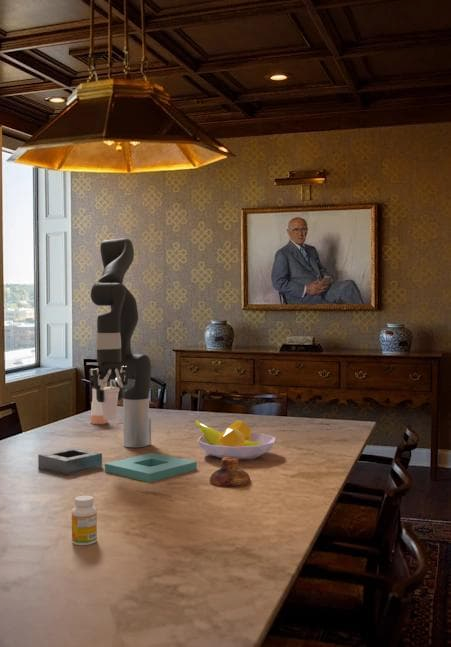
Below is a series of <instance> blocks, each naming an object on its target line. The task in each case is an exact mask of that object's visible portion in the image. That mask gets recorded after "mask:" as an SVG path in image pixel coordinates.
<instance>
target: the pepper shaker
mask: <svg viewBox="0 0 451 647" xmlns="http://www.w3.org/2000/svg"><path fill="white" fill-rule="evenodd" d="M104 387H108V384H107V383H106V384H105V385H104ZM91 390H92V395H91V396H92V399H91V400H92V401H91V404H90V405H91V406H90V409H91V410H90V411H91V413H90V424H91V423H92V425H106V424H108V422H109V420H105V419H104V418H103V410H102V403H101V402H98V400H97V395H96V389H94V388H91Z"/></svg>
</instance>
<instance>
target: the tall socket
mask: <svg viewBox="0 0 451 647" xmlns="http://www.w3.org/2000/svg"><path fill="white" fill-rule="evenodd" d="M37 457H38V458H37V459H38V460H37V464H38V466H37V467H38V470H42V471H46V472H50V473H53V474H57V475H60V474H61V475H62V476H65V477H66V476H72V475H75V474H80V473H83V472H87V471H88V472H89V471H93V470H97V468H98V469H101V468H103V453H102V452H97V451H92V450H89V449H84V448H80V447H70V448H65V449H60V450H54V451H49V452H45V453H44V452H43V453H39V454H38V456H37ZM71 474H72V475H71Z"/></svg>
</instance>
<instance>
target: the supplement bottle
mask: <svg viewBox="0 0 451 647" xmlns="http://www.w3.org/2000/svg"><path fill="white" fill-rule="evenodd" d="M94 502H95V501H94V496H92V495H79V496H76V497H75V498H74V506H75V507H73V508H72V510H71V542H72V544H73V545H76V546H80V547H81V546H82V547H83V546H90V545H93V544H94V543H96V542H97V541H98V518H97V517H98V516H97V514H98V513H97V512H98V510H97V508H96V506H94Z"/></svg>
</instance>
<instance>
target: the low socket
mask: <svg viewBox="0 0 451 647" xmlns="http://www.w3.org/2000/svg"><path fill="white" fill-rule="evenodd" d="M197 466H198V463H197V461H196V460H191V459H190V460H189V459H186V458H180V457H176V456H170V455H165V454H161V453H156V452H150V453H145V454H142V455H141V454H140V455H136V456H132V457H129V458H123V459H120V460H119V459H118V460H114V461H109V462H107V463H104V472H105V473H109V474H113V475H114V474H115V475H118V476H122V477H126V478H131V479H134V480H139V481H142V482H146V483H152V482H156V481H159V480H163V479H167V478H171V477H174V476H178V475H182V474H185V473H189V472H193V471H197V468H198V467H197Z"/></svg>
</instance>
